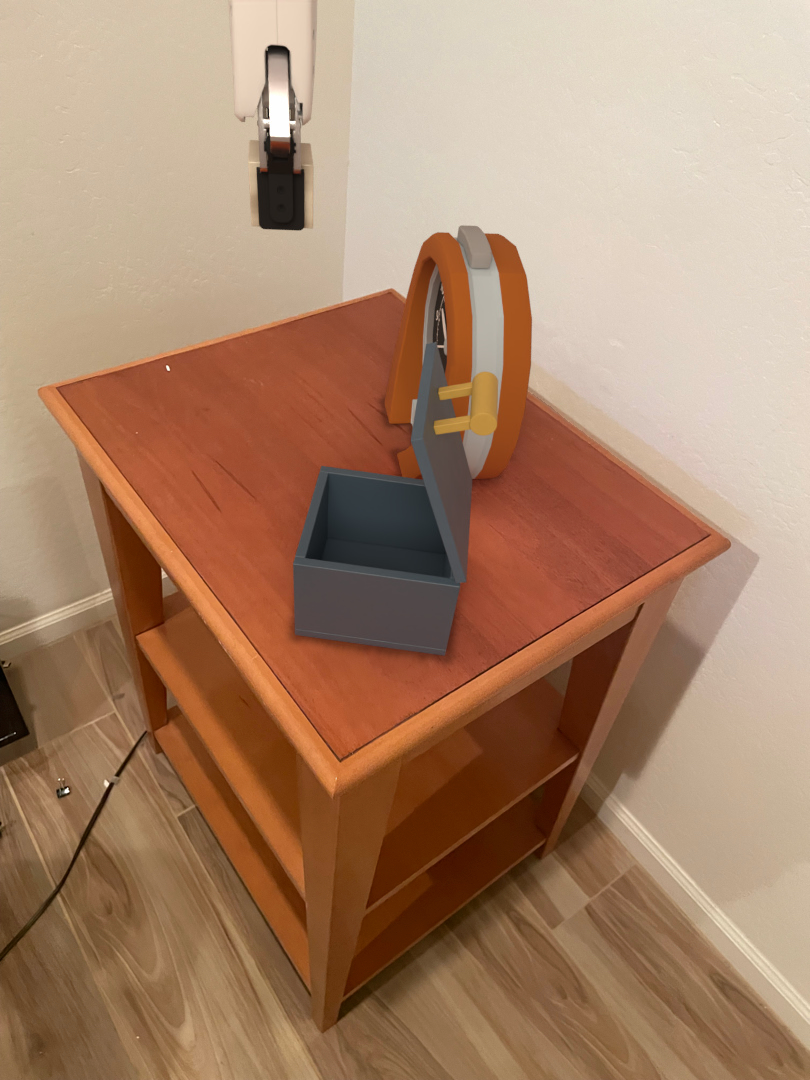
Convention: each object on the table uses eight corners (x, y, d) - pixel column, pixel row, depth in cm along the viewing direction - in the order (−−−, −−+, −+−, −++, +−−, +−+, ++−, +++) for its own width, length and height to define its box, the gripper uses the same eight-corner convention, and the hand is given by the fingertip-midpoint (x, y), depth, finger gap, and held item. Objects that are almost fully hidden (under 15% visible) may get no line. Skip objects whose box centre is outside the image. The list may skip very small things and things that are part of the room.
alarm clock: (378, 380, 88) (394, 184, 72) (458, 379, 90) (490, 187, 74) (409, 507, 73) (438, 294, 57) (504, 502, 75) (558, 295, 59)
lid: (410, 440, 45) (490, 428, 44) (425, 343, 53) (493, 331, 52) (455, 583, 54) (523, 577, 53) (463, 482, 62) (522, 474, 61)
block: (251, 226, 53) (248, 161, 50) (252, 202, 56) (248, 139, 53) (313, 229, 53) (313, 165, 50) (310, 204, 56) (310, 142, 53)
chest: (294, 635, 61) (292, 563, 54) (320, 537, 69) (321, 465, 63) (445, 656, 61) (460, 587, 54) (452, 555, 69) (467, 485, 63)
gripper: (212, -135, 47) (233, 169, 60) (194, -105, 35) (225, 263, 48) (330, -121, 48) (325, 173, 61) (351, -88, 36) (339, 267, 49)
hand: (281, 210), depth 54 cm, fingers closed on block, 4 cm apart
